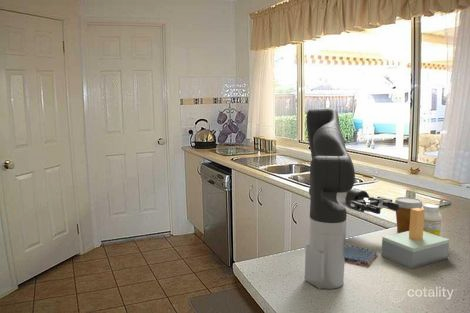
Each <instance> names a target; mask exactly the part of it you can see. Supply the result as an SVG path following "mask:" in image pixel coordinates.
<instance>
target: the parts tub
mask: <svg viewBox="0 0 470 313" xmlns="http://www.w3.org/2000/svg"><path fill="white" fill-rule="evenodd" d="M381 240H382V239H381ZM449 248H450V242H449V243H446V244H442V245H439V246H435V247H431V248H427V249H423V250H419V251H416V252H412V251H410V250H407V249H404V248H402V247H399V246H397V245H394V244H392V243H389V242H386V241H384V240H382V241H381V253H380V254H381V257H384V258H386V259H388V260H391V261H393V262H396V263H398V264H400V265H403V266H405V267H407V268H409V269H412V270H413V269H417V268H420V267H424V266H427V265H430V264H434V263H437V262H441V261H444V260H447V259H449Z"/></svg>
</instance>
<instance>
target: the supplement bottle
mask: <svg viewBox="0 0 470 313" xmlns="http://www.w3.org/2000/svg"><path fill="white" fill-rule="evenodd" d="M422 209H424V210H425V214H424V228H423V231H425V232H428V233H431V234H434V235H437V236H440V237H441V234H442V233H441V232H442V231H441V229H442V220H443V216H442V214H440V213H439V210H440V206H439V205H437V204H433V203H426V204H424V203H423V206H422Z"/></svg>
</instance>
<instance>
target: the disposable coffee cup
mask: <svg viewBox="0 0 470 313" xmlns="http://www.w3.org/2000/svg"><path fill="white" fill-rule="evenodd" d="M393 203H396V204H399V210H398V211H395V219H396V230H397V233H402V232H406V231H409V227H410V212H411V209H413V208H421V209H423V205H424V203H423V201H422V200H421V199H419V198H416V197H415V198H414V197H408V196H401V197H400V196H399V197H396V198H395V200H394V201H393Z"/></svg>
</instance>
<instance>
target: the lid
mask: <svg viewBox="0 0 470 313" xmlns="http://www.w3.org/2000/svg"><path fill="white" fill-rule="evenodd" d="M424 214H425V210H424V209H423V208H413V209H411V212H410V227H409V231H406V232H402V233H399V232H397V233H394V234H390V235H384V236H382V239H381V240H384V241H386V242H389V243H392V244H394V245H397V246H399V247H402V248H404V249H407V250H410V251H412V252H416V251H419V250H423V249H427V248H431V247H435V246H439V245H442V244H446V243H449V244H450V239H449V238H446V237H443V236H441V235H440V236H437V235H434V234H431V233H428V232H425V231H423V228H424Z"/></svg>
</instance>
